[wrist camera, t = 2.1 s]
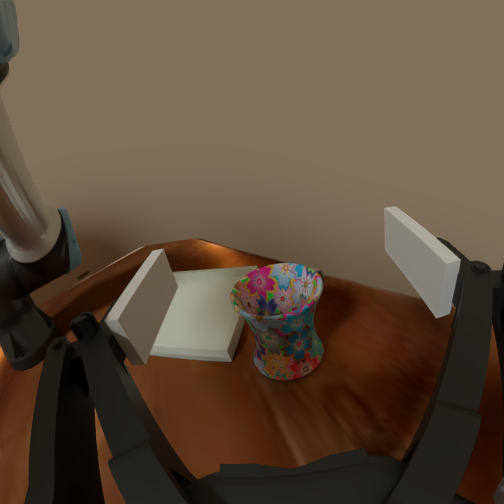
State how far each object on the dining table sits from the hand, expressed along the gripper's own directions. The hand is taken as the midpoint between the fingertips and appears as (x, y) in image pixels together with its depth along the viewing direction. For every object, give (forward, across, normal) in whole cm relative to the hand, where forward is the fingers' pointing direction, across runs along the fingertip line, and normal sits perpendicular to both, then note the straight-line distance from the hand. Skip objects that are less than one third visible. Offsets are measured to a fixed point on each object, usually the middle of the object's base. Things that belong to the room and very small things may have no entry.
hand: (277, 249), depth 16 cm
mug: (+10, 0, -19) cm, 22 cm away
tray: (+21, -16, -19) cm, 33 cm away
